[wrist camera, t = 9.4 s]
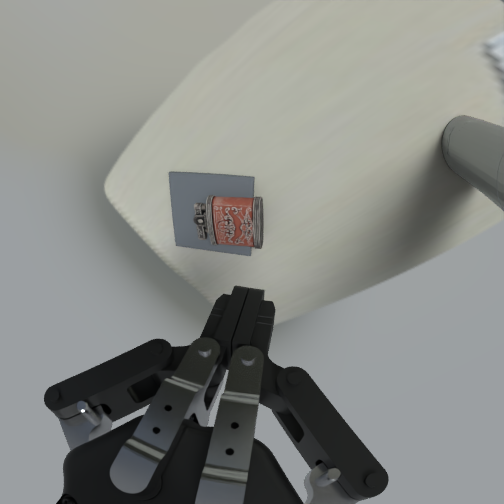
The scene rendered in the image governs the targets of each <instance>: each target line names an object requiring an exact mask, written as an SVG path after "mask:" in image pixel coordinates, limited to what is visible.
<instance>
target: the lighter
mask: <svg viewBox="0 0 504 504" xmlns="http://www.w3.org/2000/svg"><path fill="white" fill-rule="evenodd" d="M194 210H195V216H194V218H193V222H194V223H195V224H196V225H197V227H196V228H197V234H198V238H199V239H200V240H206V239H207V236H208V235H207V233H209V237H210V241H211V244H212V245H218V244H223V245H236V246H248V247H255V248H258V249H261V248H262V245H263V200H262V197H255V198H244V197H216V196H215V195H209V196H208V197H207V200H206V204H205V203H195V204H194Z"/></svg>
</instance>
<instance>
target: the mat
mask: <svg viewBox="0 0 504 504" xmlns="http://www.w3.org/2000/svg"><path fill="white" fill-rule="evenodd" d="M169 183H170V195H171V206H172V216H173V225H174V234H175V242H176V246H181V247H189V248H196V249H203V250H210V251H217V252H224V253H231V254H238V255H246V256H251V247H248V246H236V245H223V244H218V245H212V244H211V241H210V237H209V233H207V235H208V236H207V239H206V240H200V239H199V238H198V234H197V228H196V227H197V225H196V224H195V223H194V222H193V218H194V216H195V210H194V204H195V203H205V204H206V200H207V197H208V196H209V195H215V196H216V197H244V198H254V177H249V176H238V175H225V174H210V173H192V172H169Z"/></svg>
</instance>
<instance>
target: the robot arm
mask: <svg viewBox="0 0 504 504" xmlns="http://www.w3.org/2000/svg"><path fill="white" fill-rule="evenodd" d="M442 150H443V155H444V158H445V160H446V162H447V164H448V166H449V167H450V168H451V169H452V170H453V171H454V172H455V173H457V174H458V175H459V176H461V177H462V178H464V179H465V180H466V181H467V182H469V183H470V184H471V185H473V186H474V187H475V188H477V189H478V190H479V191H480V192H482V193H483V194H484V195H485V196H487V197H488V198H489V199H490V200H491V201H493V202H494V203H495V204H496V205H497V206H498V207H500V208H501V209H502V210H503V211H504V127H502V126H499V125H496V124H493V123H490V122H487V121H484V120H481V119H477V118H474V117H470V116H465V115H464V116H458V117H456V118H454V119H453V120H452V121H450V123H449V124H448V125H447V127H446V129H445V131H444V134H443V139H442ZM274 317H275V307H274V304H273V302H272V301H265V300H264V290H261V289H254V288H250V289H249V288H247V287H241V286H234V289H233V291H232V294H231V295H228V294H223V295H221V296H220V297H219V298H218V299H217V300H216V302H215V304H214V307H213V309H212V311H211V314H210V316H209V318H208V320H207V323H206V325H205V327H204V330H203V332H202V334H201V336H200V338H198V339H196V340H195V341H193V343H191V345H188V346H181V347H180V346H179V347H171V345H170V343H169V342H167V341H166V340H164V339H153V340H151V341H148V342H146V343H144V344H142V345H140V346H138V347H136V348H134V349H132V350H130V351H128V352H125V353H123V354H121V355H119V356H117V357H115V358H113V359H111V360H108V361H106V362H104V363H102V364H100V365H98V366H95V367H93V368H91V369H89V370H87V371H84V372H82V373H80V374H78V375H76V376H73V377H71V378H69V379H66V380H64V381H62V382H60V383H57V384H55V385H53V386H51V387H49V388H48V389H47V391H46V393H45V395H44V402H45V405H46V406H47V407H48V408H49V409H50V410H51V411H52V412H53V413H54V414H55V415H56V416H57V417H58V418H59V421H60V424H61V426H62V429H63V432H64V435H65V437H66V440H67V442H68V445H69V447H70V450H71V451H70V452H69V453H68V455H67V456H66V458H65V460H64V464H63V473H64V489H63V494H62V496H61V498H60V499H59V501H58V502H57V503H56V504H303V502H302V500H301V499H300V497H299V496H298V494H297V492H296V491H295V489H294V488H293V486H292V485H291V483H290V482H289V480H288V478H287V477H286V475H285V473H284V472H283V470H282V468H281V467H280V465H279V463H278V462H277V460H276V458H275V456H274V455H273V453H272V452H271V451H270V449H269V448H268V447H267V446H265V445H264V444H263V443H262V442H260V441H259V440H257V439H255V438H254V433H255V426H256V419H257V412H258V404H259V403H260V404H263V405H264V406H266V407H268V408H270V409H272V412H273V414H274V415H275V417H276V418H277V420H278V421H279V423H280V424H281V426H282V427H283V429H284V430H285V432H286V434H287V435H288V436H289V438H290V439H291V441H292V442H293V444H294V445H295V447H296V448H297V450H298V451H299V453H300V454H301V455H302V457H303V458H304V460H305V461H306V462H307V464H308V465H309V467H310V468H311V469H312V470H311V471H310V472H309V473H308V474H307V475H306V477H305V480H304V486H305V488H306V490H307V494H308V497H307V501H306V503H305V504H355V503H357V502H358V501H361V500H364V499H368V498H371V497H374V496H377V495H378V494H380V493H382V492H383V491H384V490H385V488H386V486H387V484H388V474H387V472H386V471H385V469H384V468H383V467H382V466H381V464H380V463H379V462H378V461H377V460H376V459H375V457H374V456H373V455H372V454H371V452H370V451H369V450H368V449H367V448H366V446H365V445H364V444H363V443H362V442H361V440H360V439H359V438H358V436H357V435H356V434H355V433H354V432H353V430H352V429H351V428H350V427H349V425H348V424H347V423H346V422H345V420H344V419H343V418H342V417H341V415H340V414H339V413H338V412H337V410H336V409H335V408H334V406H333V405H332V404H331V403H330V401H329V400H328V399H327V398H326V396H325V395H324V394H323V392H322V391H321V390H320V389H319V387H318V386H317V385H316V383H315V382H314V381H313V379H312V378H311V377H310V376H309V374H308V373H307V372H306V371H305V370H303V369H302V368H299V367H287V368H285V369H284V368H282V367H280V366H278V365H276V364H274V363H273V362H272V361H271V360H270V359H269V357H268V351H269V345H270V341H271V336H272V331H273V325H274ZM226 369H227V370H229V371H228V376H227V381H226V385H225V390H224V393H223V394H222V395H221V398H220V402H219V406H218V411H217V415H216V420H215V424H214V427H207V425H208V421H209V415H210V411H211V410H212V407H213V405H214V403H215V400H216V398H217V396H218V393H219V391H220V389H221V386H222V384H223V378H224V375H225V372H226ZM149 404H150V405H149ZM147 405H149V407H148V409H147V411H146V413H145V414H144V415H141V416H139V417H136V418H134V419H132V420H131V421H129V422H127V423H125V424H123V425H121V426H119V427H117V428H115V429H113V430H111V427H112V422H114V421H116V420H118V419H120V418H122V417H125V416H127V415H129V414H131V413H133V412H135V411H137V410H139V409H141V408H143V407H145V406H147Z"/></svg>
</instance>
